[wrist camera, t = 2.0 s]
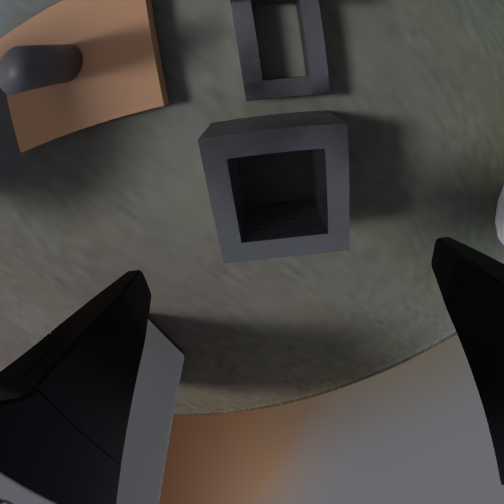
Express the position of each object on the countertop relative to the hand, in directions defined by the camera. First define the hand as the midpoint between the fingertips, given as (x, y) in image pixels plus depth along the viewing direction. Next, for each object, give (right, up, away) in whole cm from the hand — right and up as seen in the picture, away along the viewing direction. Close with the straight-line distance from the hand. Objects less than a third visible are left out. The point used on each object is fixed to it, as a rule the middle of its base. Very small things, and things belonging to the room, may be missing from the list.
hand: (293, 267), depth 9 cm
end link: (0, +5, +8) cm, 9 cm away
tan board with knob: (-11, +11, +4) cm, 16 cm away
